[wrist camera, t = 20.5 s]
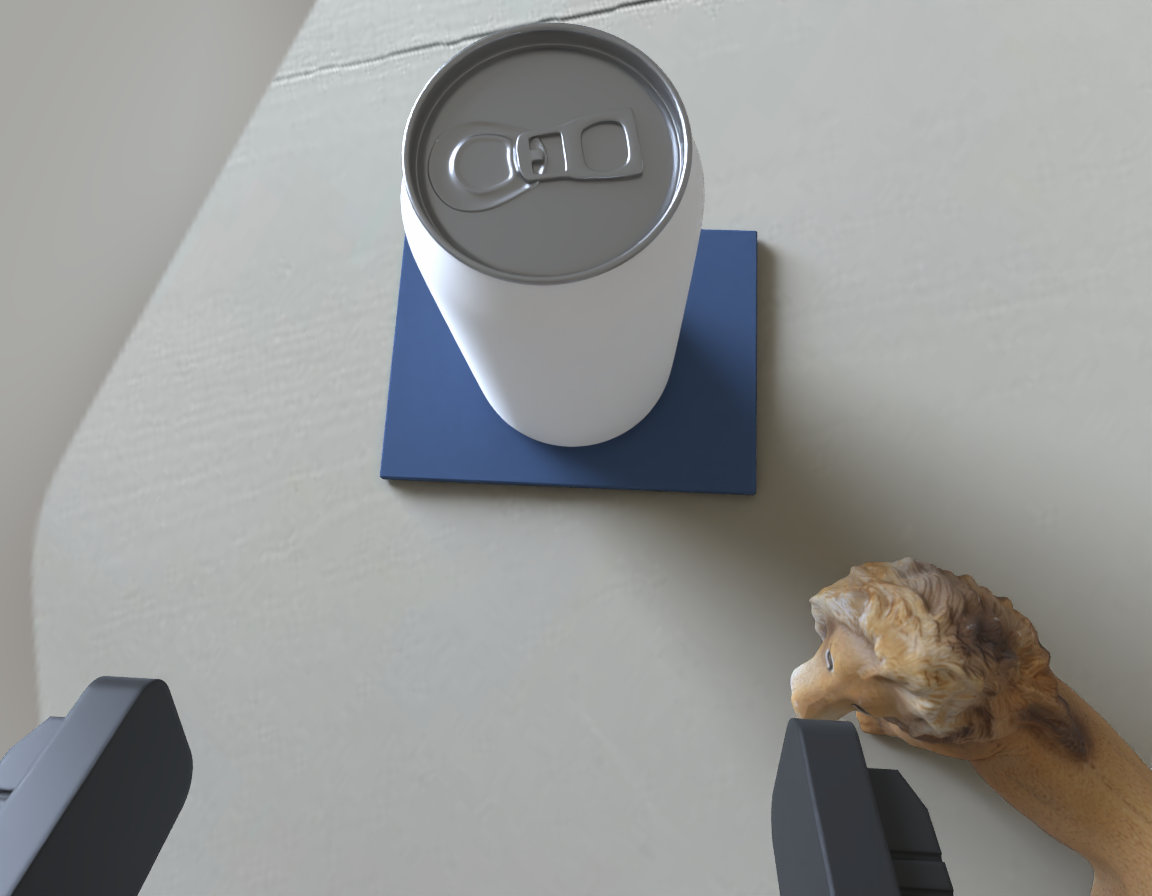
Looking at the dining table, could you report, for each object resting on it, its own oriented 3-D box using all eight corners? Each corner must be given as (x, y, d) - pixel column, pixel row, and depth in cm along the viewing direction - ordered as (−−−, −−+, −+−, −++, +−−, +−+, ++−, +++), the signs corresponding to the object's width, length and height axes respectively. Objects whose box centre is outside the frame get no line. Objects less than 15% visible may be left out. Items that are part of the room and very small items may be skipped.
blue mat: (382, 479, 28) (379, 476, 27) (408, 226, 30) (406, 221, 29) (754, 495, 27) (756, 493, 27) (755, 235, 29) (757, 230, 29)
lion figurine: (721, 677, 26) (775, 692, 17) (817, 536, 27) (916, 482, 18) (1166, 1007, 23) (1495, 1222, 15) (1256, 840, 24) (1619, 949, 16)
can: (466, 278, 29) (366, 28, 17) (656, 251, 29) (685, -20, 17) (487, 464, 27) (393, 329, 16) (687, 435, 27) (743, 278, 16)
